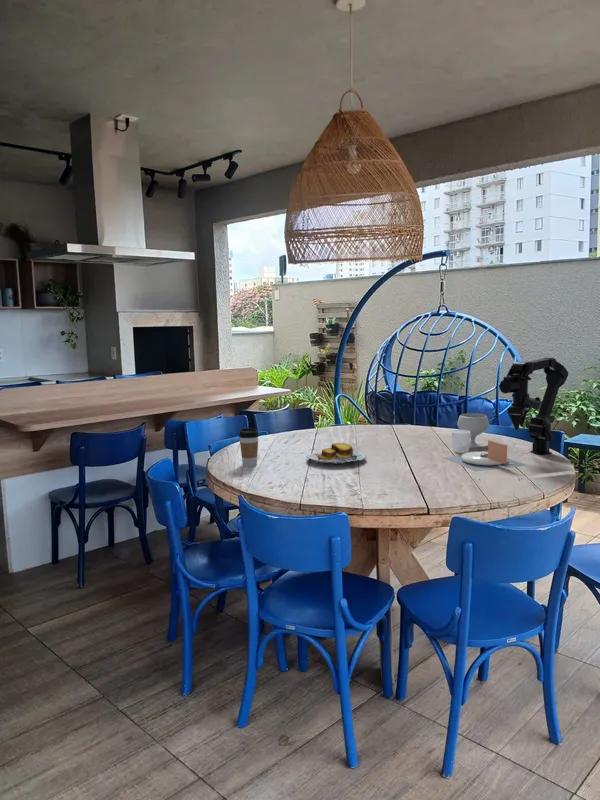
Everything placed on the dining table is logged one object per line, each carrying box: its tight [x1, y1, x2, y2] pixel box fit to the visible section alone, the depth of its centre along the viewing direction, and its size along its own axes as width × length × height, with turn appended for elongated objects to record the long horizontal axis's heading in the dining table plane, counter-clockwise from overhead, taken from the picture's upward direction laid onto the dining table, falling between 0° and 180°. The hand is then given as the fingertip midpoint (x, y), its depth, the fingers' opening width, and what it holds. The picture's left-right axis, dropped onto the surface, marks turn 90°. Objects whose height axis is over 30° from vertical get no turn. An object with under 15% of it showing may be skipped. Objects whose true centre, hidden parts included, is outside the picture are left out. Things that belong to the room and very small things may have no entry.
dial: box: [461, 439, 508, 465], centre depth 252 cm, size 18×19×9 cm
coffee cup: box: [238, 427, 260, 468], centre depth 258 cm, size 8×8×15 cm
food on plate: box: [306, 442, 367, 464], centre depth 263 cm, size 25×25×7 cm
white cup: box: [451, 429, 471, 454], centre depth 271 cm, size 8×8×10 cm
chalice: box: [456, 412, 490, 449], centre depth 283 cm, size 14×14×15 cm
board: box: [443, 455, 528, 472], centre depth 253 cm, size 24×24×1 cm
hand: (519, 427), depth 261 cm, fingers open, 9 cm apart
